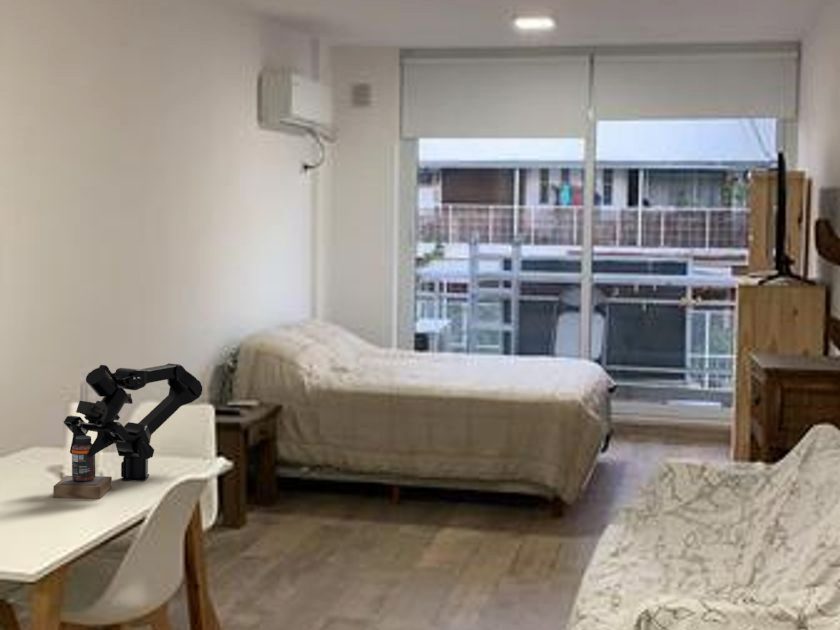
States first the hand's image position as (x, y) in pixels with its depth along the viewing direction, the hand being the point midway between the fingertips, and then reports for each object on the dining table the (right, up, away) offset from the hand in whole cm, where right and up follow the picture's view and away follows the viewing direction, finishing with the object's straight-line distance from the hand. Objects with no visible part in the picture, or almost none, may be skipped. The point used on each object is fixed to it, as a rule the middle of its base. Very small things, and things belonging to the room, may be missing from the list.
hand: (79, 454), depth 293 cm
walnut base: (0, -10, +2) cm, 10 cm away
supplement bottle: (+1, -7, +2) cm, 7 cm away
